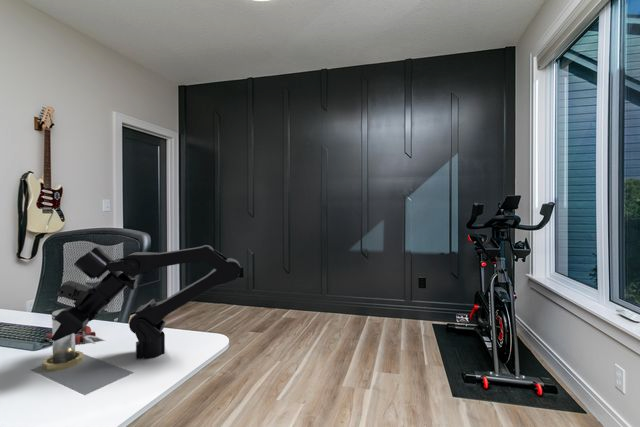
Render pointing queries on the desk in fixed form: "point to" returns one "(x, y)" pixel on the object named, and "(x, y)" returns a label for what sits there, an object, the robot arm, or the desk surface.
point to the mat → (86, 375)
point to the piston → (62, 343)
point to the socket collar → (64, 365)
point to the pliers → (84, 337)
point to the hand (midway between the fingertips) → (57, 336)
